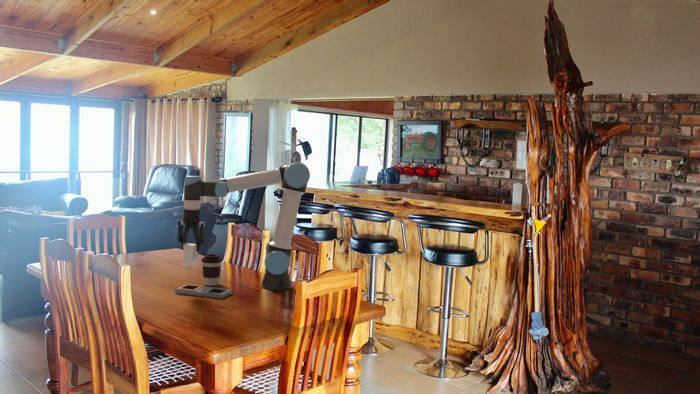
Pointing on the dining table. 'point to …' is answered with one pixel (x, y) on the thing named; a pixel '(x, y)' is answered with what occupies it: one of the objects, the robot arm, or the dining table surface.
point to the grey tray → (203, 291)
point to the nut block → (189, 254)
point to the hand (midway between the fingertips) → (190, 257)
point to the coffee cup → (211, 269)
